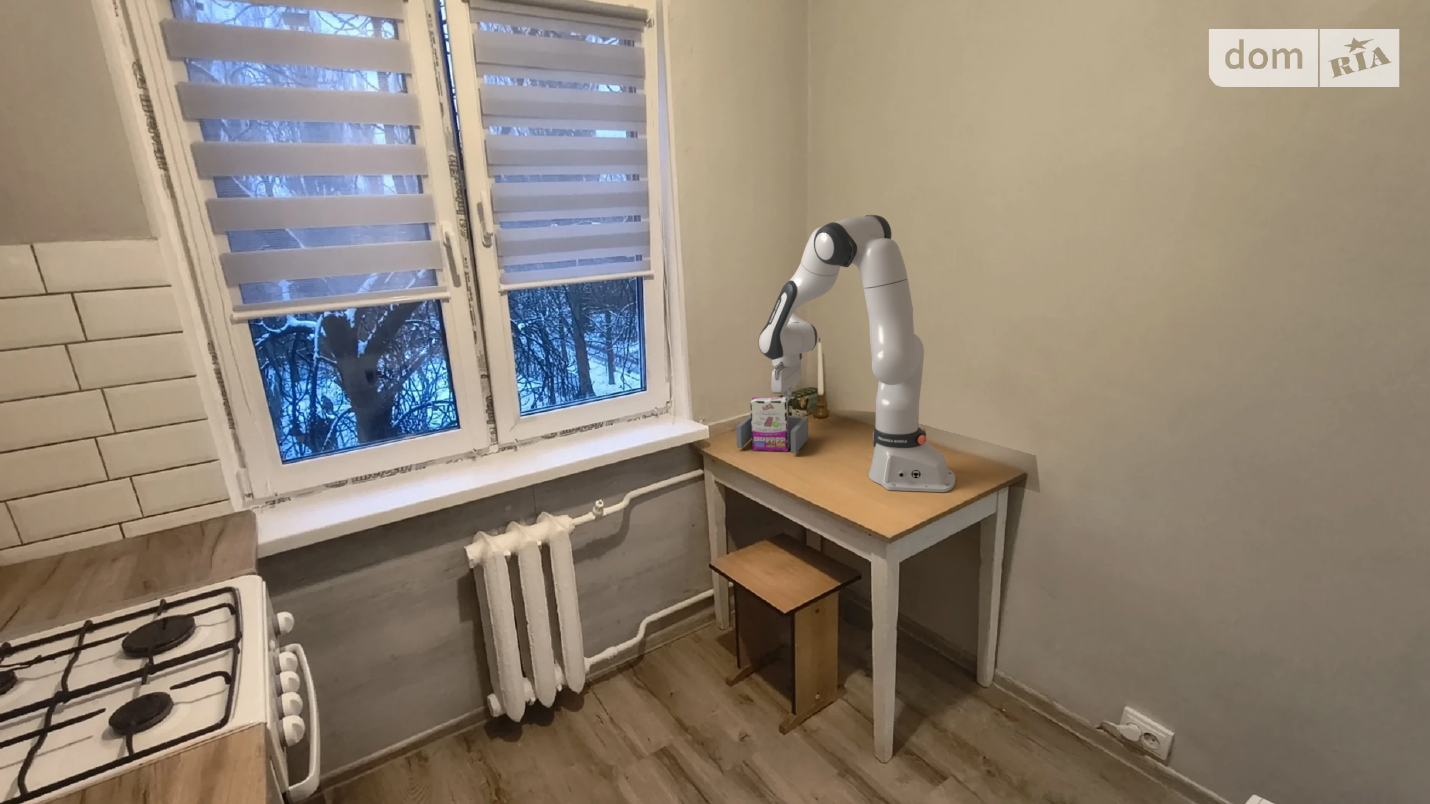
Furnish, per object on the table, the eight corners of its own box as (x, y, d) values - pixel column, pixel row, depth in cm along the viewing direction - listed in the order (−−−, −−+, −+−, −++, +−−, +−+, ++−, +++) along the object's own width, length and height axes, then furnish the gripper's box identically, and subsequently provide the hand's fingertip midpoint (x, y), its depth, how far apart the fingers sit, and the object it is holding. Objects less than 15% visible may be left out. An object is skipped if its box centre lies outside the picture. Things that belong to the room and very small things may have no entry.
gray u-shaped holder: (808, 439, 203) (808, 417, 201) (796, 455, 191) (795, 431, 189) (752, 434, 211) (751, 412, 209) (737, 449, 199) (735, 426, 196)
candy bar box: (789, 446, 200) (788, 396, 196) (788, 452, 196) (786, 401, 191) (754, 445, 203) (752, 396, 198) (752, 451, 198) (750, 401, 193)
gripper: (784, 366, 195) (786, 409, 199) (803, 352, 213) (805, 391, 217) (765, 366, 198) (767, 408, 202) (785, 352, 216) (787, 391, 220)
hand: (787, 399), depth 209 cm, fingers closed
